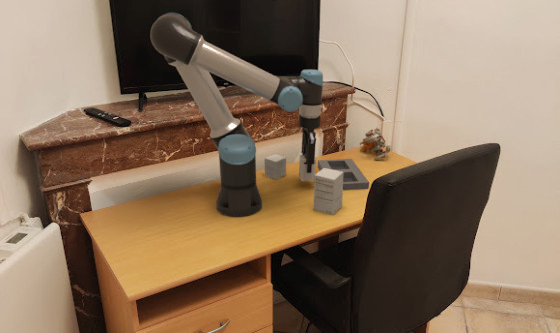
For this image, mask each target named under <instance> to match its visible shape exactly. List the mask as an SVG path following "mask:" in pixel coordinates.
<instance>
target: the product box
mask: <svg viewBox="0 0 560 333" xmlns="http://www.w3.org/2000/svg"><path fill="white" fill-rule="evenodd" d="M286 175H287V157H285V156H282V155H279V154H276V153H275V154H271V155H270V156H266V157H264V176H265V177H268V178H271V179H273V178H274V180H278V179H281V178H282V177H284V176H286Z"/></svg>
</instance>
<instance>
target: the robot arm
mask: <svg viewBox="0 0 560 333" xmlns="http://www.w3.org/2000/svg"><path fill="white" fill-rule="evenodd" d="M149 35H150V36H149V37H150V41H151V44H152V47H154V49H155V50H156V51H157V52H158V53H159V54H161V55H163V56H164V59H165V61H167V64H168V65H171V66H173V67H175V68H176V70H177V72H178V74H179V76H181V79H182V81H183V82H184V84H185V86H186V87H187V90H188V91H189V93H190V94H191V96H192V98H193V100H194V102H195V103H196V105H197V107H198V108H199V110H200V112H201V114H202V116H203V117H204V119H205V121H206V123H207V126H209V128H210V134H209V137H210V139H211V141H212V142H213V144H214V146H215V148H216V149H217V151H218V153H217V154H218V157H219V158H218V162H219V176H220V178H219V180H220V188H219V191H218V195H217V198H216V210H217V211H218V213H220V214H222V215H225V216H228V217H235V218H237V217H239V218H240V217H247V216H252V215H254V214H257V213H258V212H260V211H261V209H262V207H263V198H262V196H261V193H260V191H259V188H258V185H257V160H256V159H257V158H256V156H257V155H256V154H257V147H256V142H255V140H254V139H253V137H251V136H250V134H249V132H248V131H247V130H246V129H245V127H244V125H243V123H242V122H241V120H240V118H235V117H234V116H233V114H232V112H231V110H230V108H229V107H228V105H227V103H226V101H225V99H224V97H223V95H222V94H221V92H220V90H219V89H218V86H217V84H216V83H215V81H214V78H213V77H212V76H211V74H213V75H215V76H217V77H220V78H222V79H223V80H226V81H228V82H230V83H232V84H234V85H236V86H238V87H240V88H242V89H244V90H247V91H249V92H250V93H252V94H255V95H257V96H259V97H262V98H263V99H266V100H268V101H269V102H271V103H274V104H275V105H277V106H279V107H280V108H281V109H282V110H283V111H285V112H289V113H290V112H295V111H297V110H299V111H298V114H299V116H298V126H299V127H300V128H301V131H302V133H301V134H302V135H301V137H302V139H301V152H300V153H301V155H305V154H306V162H304V164H305V174H304V181H303V182H308V181H309V182H310V181H311V182H312V171H313V164H314V163H315V162H314V161H315V159H316V157H315V156H316V142H317V138H316V132H315V129H319V127H320V126H321V118H322V117H321V115H322V110H323V108H324V106H323V105H322V99H323V98H322V97H323V87H324V75H323V72H322V71H320V70H318V69H303V70H302V71H301V72H300V75H298V76H279V75H274V74H272V73H269V71H265V70H263V69H262V68H259V67H258V66H256V65H254V64H253V63H250V62H247V61H245V60H243V59H241V58H240V57H238V56H235V55H234V54H231V53H230V52H228V51H226V50H224V49H222V48H220V47H218V46H216V45H214V44H212V43H209V42H207V41H206V40H205V39H204V37H203V35H202V34H200V33H198V32H196V31H195V30H193V28H192V25H191V23H190V22H189V20H188V19H187V17H184V16H183V15H181V14H180V13H176V12H167V13H165V14H162V15H161V16H159V17H158V18H157V19H156V20H155V22H153V23H152V26H151V28H150V34H149Z"/></svg>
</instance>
